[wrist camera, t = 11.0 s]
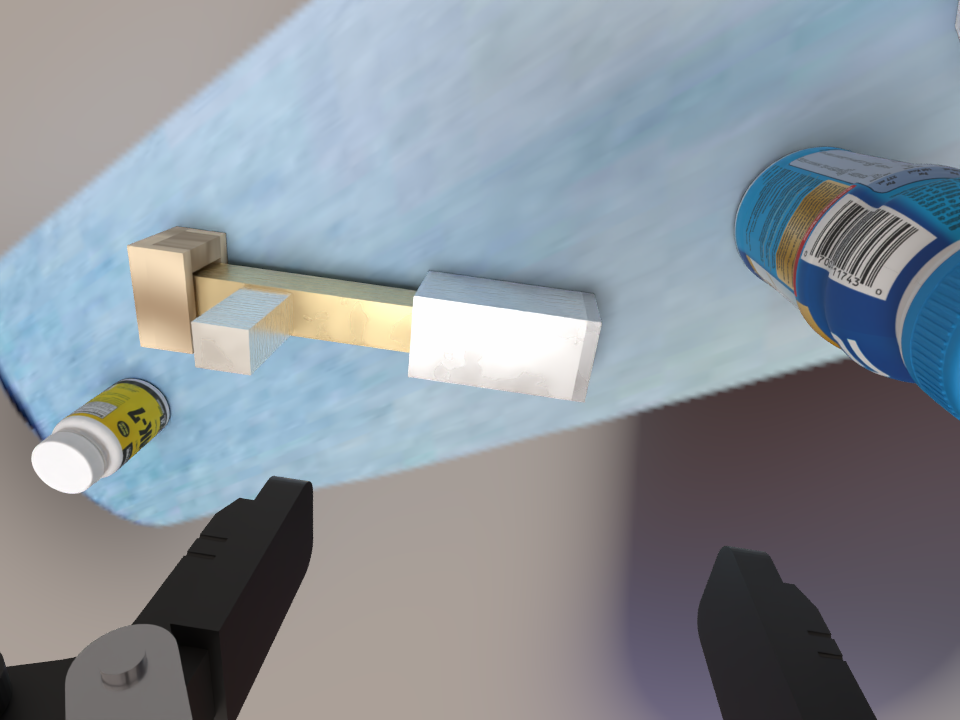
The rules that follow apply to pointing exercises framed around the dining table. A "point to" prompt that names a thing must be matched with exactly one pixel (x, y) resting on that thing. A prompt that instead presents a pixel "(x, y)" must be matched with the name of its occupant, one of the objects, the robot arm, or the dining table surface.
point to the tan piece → (289, 314)
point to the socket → (170, 283)
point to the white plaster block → (504, 336)
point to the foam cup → (958, 20)
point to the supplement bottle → (100, 436)
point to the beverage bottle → (865, 258)
